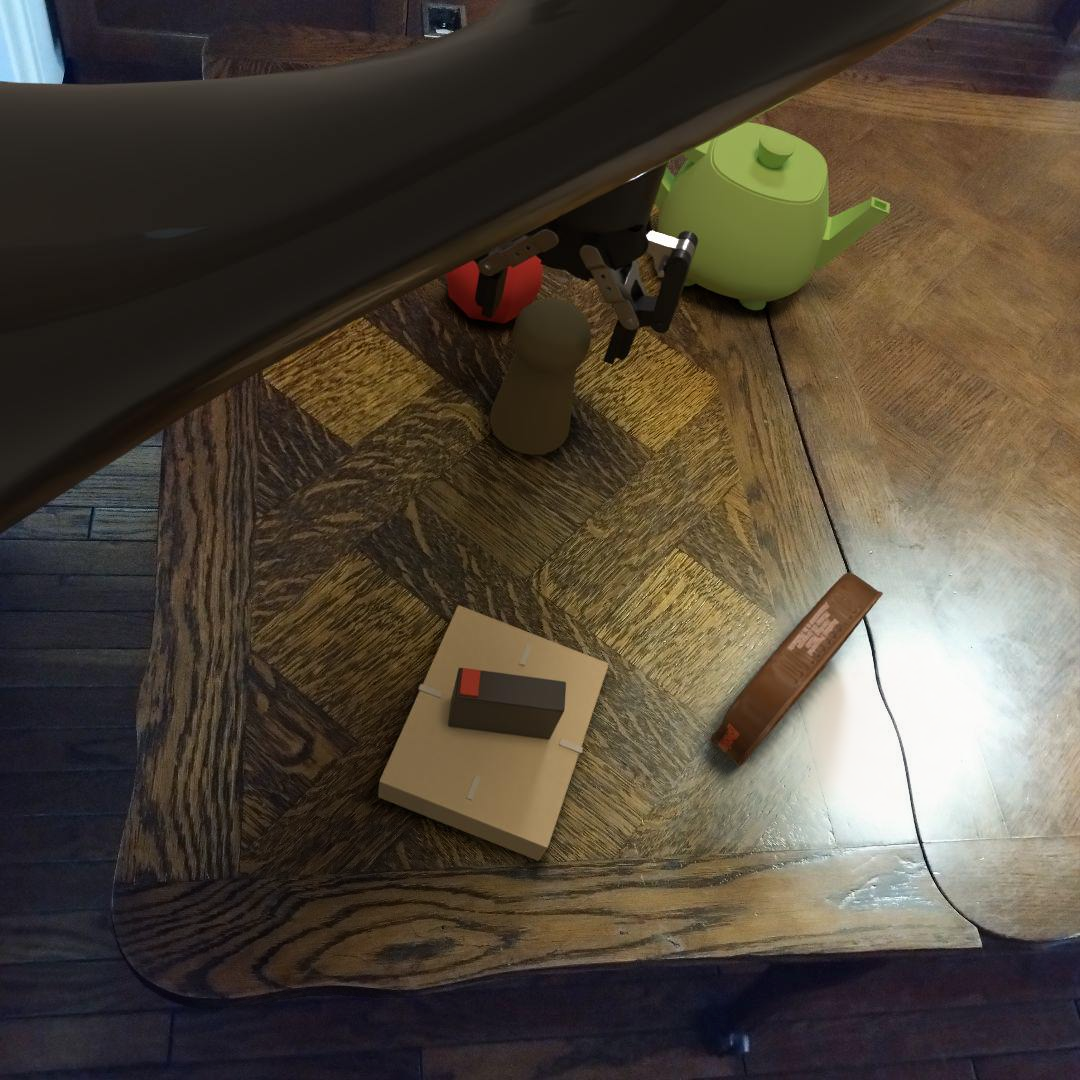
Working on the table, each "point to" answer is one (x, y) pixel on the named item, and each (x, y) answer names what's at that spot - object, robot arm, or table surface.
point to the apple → (516, 294)
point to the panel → (492, 740)
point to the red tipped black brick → (506, 703)
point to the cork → (541, 377)
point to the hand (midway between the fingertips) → (550, 331)
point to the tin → (793, 667)
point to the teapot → (758, 214)
